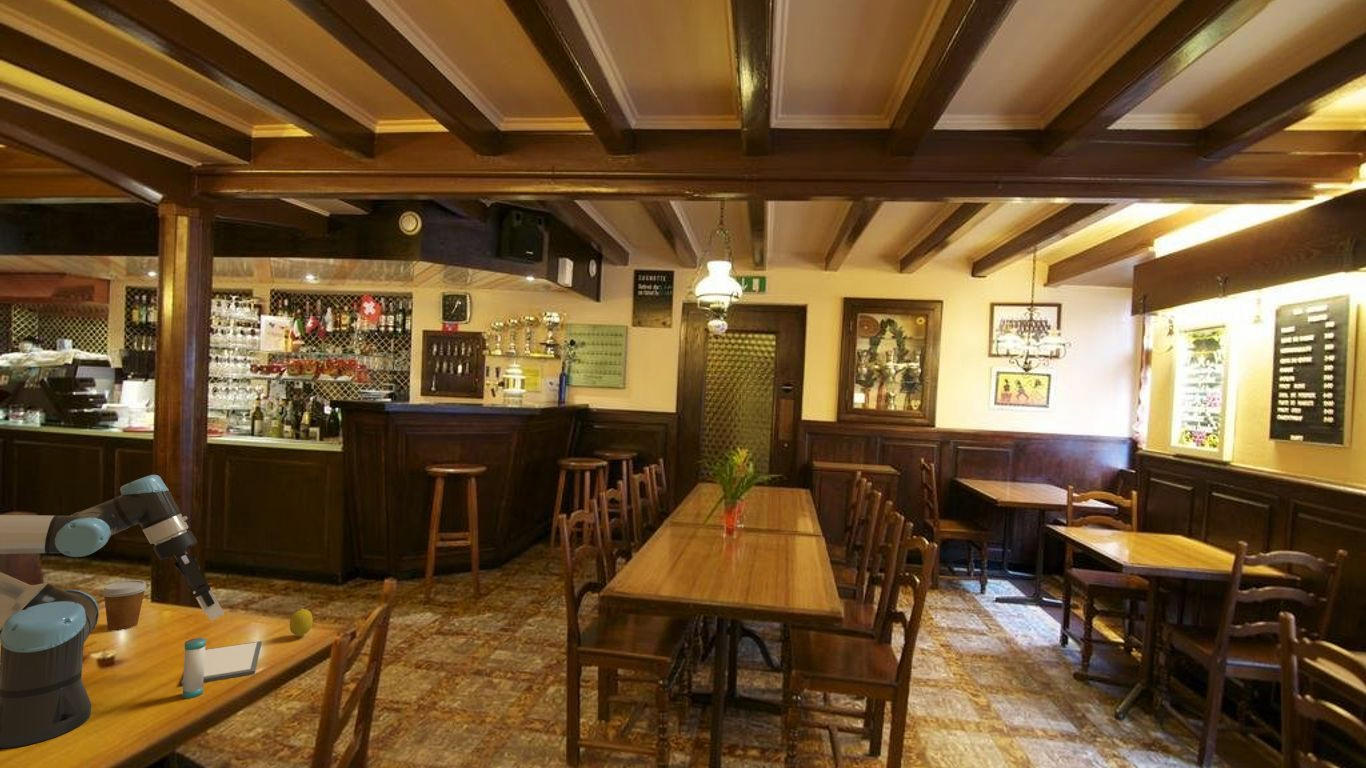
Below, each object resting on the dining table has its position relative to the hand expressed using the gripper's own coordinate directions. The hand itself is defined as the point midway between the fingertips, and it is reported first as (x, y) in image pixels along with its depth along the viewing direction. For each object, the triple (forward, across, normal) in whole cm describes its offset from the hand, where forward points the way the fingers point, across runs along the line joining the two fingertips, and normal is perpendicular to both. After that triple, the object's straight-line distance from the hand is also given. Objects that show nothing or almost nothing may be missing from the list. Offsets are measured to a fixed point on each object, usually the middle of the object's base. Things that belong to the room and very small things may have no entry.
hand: (214, 614), depth 146 cm
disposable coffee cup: (-2, +54, +17) cm, 57 cm away
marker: (+13, -6, +10) cm, 18 cm away
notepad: (+13, +9, +3) cm, 16 cm away
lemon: (+20, +16, -14) cm, 29 cm away
